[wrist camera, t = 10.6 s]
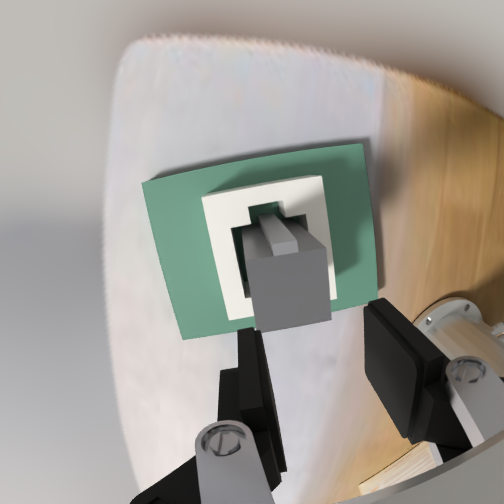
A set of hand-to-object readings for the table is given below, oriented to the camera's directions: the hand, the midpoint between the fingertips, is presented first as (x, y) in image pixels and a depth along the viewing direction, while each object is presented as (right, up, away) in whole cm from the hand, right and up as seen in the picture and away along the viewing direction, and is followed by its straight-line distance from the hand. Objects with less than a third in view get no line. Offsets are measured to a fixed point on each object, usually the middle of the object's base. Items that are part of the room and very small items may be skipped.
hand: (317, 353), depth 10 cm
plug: (-1, +4, +15) cm, 16 cm away
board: (-1, +4, +17) cm, 17 cm away
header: (-1, +4, +15) cm, 16 cm away
